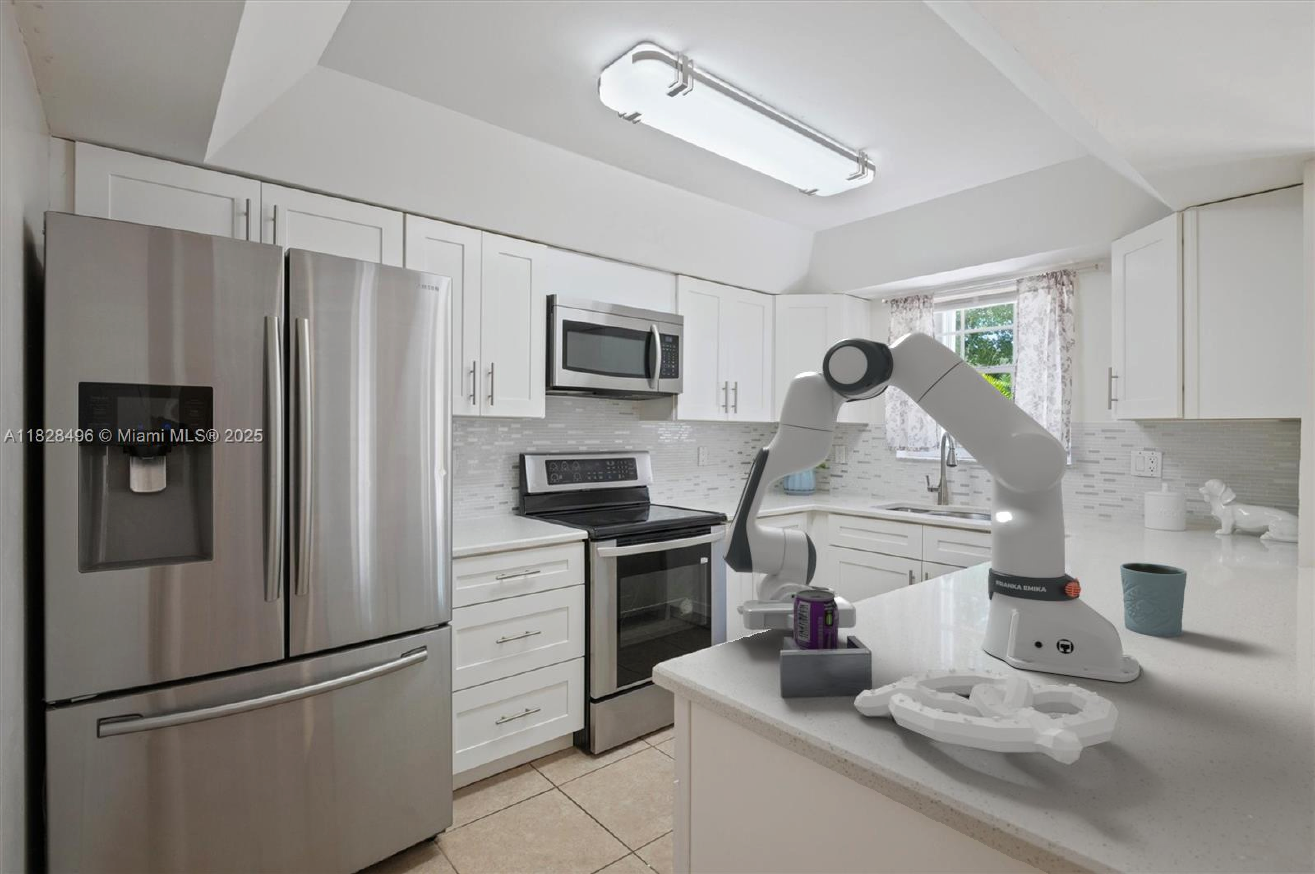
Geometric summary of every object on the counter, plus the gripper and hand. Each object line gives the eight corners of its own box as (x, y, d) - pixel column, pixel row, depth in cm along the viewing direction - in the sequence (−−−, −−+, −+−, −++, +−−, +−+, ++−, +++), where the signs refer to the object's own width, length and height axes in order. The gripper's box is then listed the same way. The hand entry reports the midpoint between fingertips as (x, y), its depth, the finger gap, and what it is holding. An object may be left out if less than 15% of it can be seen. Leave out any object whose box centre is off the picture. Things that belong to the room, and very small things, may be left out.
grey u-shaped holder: (769, 674, 101) (769, 633, 101) (854, 672, 102) (854, 631, 102) (782, 697, 93) (781, 652, 93) (875, 695, 93) (874, 650, 93)
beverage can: (843, 674, 101) (842, 599, 101) (798, 674, 101) (797, 599, 101) (832, 659, 108) (832, 588, 108) (790, 658, 108) (790, 588, 108)
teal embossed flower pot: (1163, 623, 126) (1162, 562, 126) (1201, 639, 116) (1201, 573, 116) (1108, 622, 127) (1108, 562, 127) (1142, 638, 117) (1141, 573, 117)
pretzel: (839, 732, 85) (835, 682, 86) (939, 695, 99) (934, 652, 99) (1069, 800, 62) (1059, 731, 63) (1157, 740, 76) (1148, 684, 77)
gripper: (735, 590, 121) (747, 610, 108) (841, 588, 122) (866, 607, 108) (735, 622, 121) (747, 647, 108) (841, 620, 122) (867, 644, 108)
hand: (808, 627), depth 108 cm, fingers closed
